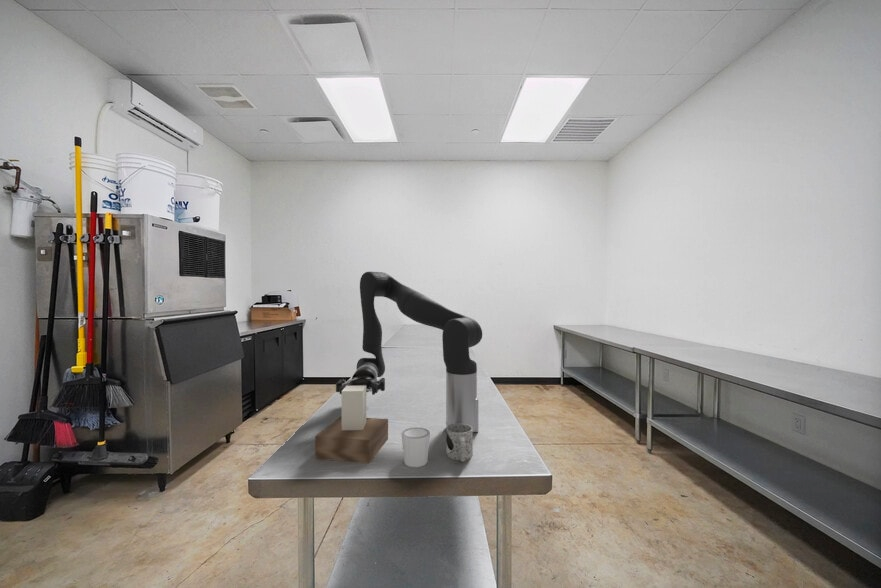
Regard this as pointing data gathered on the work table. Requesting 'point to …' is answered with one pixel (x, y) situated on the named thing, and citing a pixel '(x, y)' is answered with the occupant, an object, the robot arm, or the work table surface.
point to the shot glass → (415, 446)
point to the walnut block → (351, 441)
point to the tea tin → (354, 407)
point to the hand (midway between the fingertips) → (358, 391)
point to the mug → (459, 441)
